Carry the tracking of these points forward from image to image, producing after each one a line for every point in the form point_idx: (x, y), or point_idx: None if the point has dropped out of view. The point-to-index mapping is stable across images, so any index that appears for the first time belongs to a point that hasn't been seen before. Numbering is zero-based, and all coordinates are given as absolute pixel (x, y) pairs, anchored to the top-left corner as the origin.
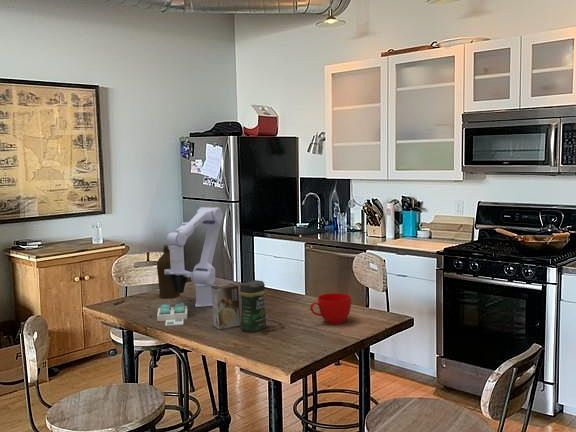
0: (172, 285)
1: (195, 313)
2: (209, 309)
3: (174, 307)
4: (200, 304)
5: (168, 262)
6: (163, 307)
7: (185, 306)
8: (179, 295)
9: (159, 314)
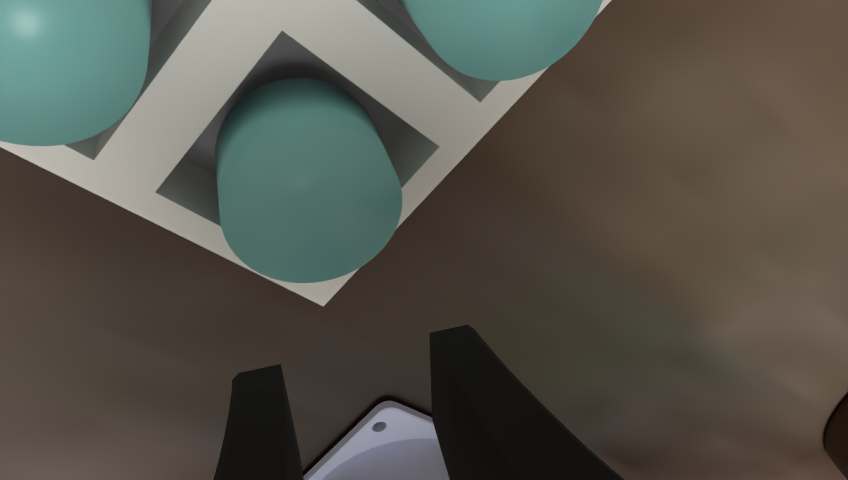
0: (575, 459)
1: (119, 273)
2: (158, 454)
3: (428, 138)
4: (367, 459)
5: None
6: None
7: None
8: (828, 454)
9: None
